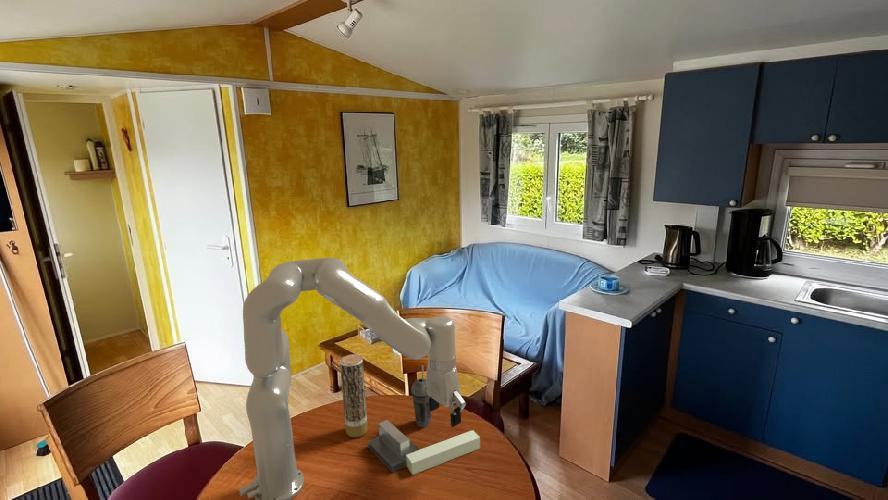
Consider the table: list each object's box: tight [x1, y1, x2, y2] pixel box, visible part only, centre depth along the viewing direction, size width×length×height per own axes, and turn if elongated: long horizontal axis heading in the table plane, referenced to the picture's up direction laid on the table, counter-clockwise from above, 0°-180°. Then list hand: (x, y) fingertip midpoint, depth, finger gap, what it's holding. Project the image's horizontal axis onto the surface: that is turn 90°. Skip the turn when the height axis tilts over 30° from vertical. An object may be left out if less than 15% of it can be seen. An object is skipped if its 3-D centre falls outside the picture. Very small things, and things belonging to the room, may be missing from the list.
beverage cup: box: [410, 364, 432, 428], centre depth 141 cm, size 7×7×20 cm
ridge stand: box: [367, 419, 420, 474], centre depth 129 cm, size 10×14×7 cm
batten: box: [406, 429, 481, 476], centre depth 127 cm, size 22×4×4 cm, turn 118°
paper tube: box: [339, 353, 368, 438], centre depth 137 cm, size 7×7×25 cm
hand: (445, 416), depth 124 cm, fingers open, 9 cm apart
